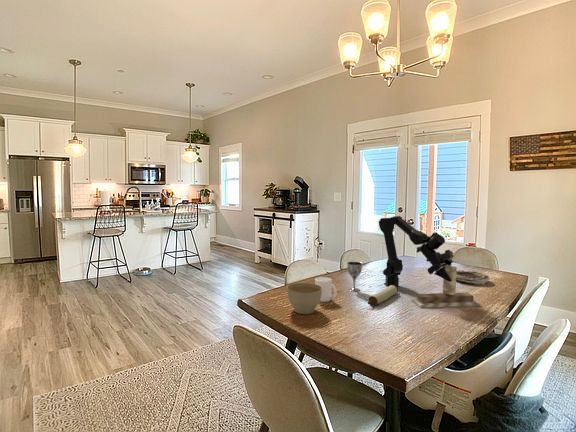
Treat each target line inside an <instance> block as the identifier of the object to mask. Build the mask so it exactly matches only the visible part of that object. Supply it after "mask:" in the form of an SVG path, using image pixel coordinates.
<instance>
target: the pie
mask: <svg viewBox="0 0 576 432" xmlns="http://www.w3.org/2000/svg"><path fill="white" fill-rule="evenodd" d="M489 281H490V277H489V275H488V274H487V275H486V274H484V273H482V272H478V271H474V270H472V271H471V270H469V271H468V270H467V271H466V270H463V269H462V270H461V269H460V270H458V269H457V273H456V283H457V282H458V283H462V284H468V285H471V284H472V285H471V286H479V285H480V286H484V285H485V284H486V283H487V282H489Z"/></svg>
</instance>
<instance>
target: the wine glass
mask: <svg viewBox="0 0 576 432" xmlns="http://www.w3.org/2000/svg"><path fill="white" fill-rule="evenodd" d="M346 263H347V265H346V266H347V267H346V268H347V273H348V275H349V276H350V277H351V279H352V282H353V285H352V287H350V288H349V289H348V288H347V291H348V290H349V292H351V291H352V293H358V292H361V291H362V290H361V289H360V288H357V287H356V280H357V278H358V277H359V276H360V275H361V273H362V269H363V263H362V262H359V261H348V262H346Z"/></svg>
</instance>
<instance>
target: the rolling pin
mask: <svg viewBox="0 0 576 432" xmlns="http://www.w3.org/2000/svg"><path fill="white" fill-rule="evenodd" d="M398 293H399V288H398V287H397V286H395V285H390V286H389V287H388V286H387V287H385V288H383V289H382V290H381V291H379V292H377V293H374V294H371V295H369V296H368V299H367V301H368V302H367V305H370V306H371V307H377V305H379V304H382V303H383V302H384V301H386V300H388V299H390V298H392V297H393V296H395V295H397V294H398Z"/></svg>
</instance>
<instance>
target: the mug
mask: <svg viewBox="0 0 576 432" xmlns="http://www.w3.org/2000/svg"><path fill="white" fill-rule="evenodd" d="M314 282H315V283H314V284H316V285H319V286H321V287H322V295H321V299H320V302H322V303H323V302H324V303H326V302H330V301H331V300H332V299H334V298H336V296H337V294H338V293H337V292H338V291H337V288H336V286H335V284H333V283H332V282H333V281H332V278H329V277H327V276H326V277H325V276H319V277H316V278H315V279H314ZM332 289H333V294H332ZM320 302H319V303H320Z"/></svg>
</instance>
